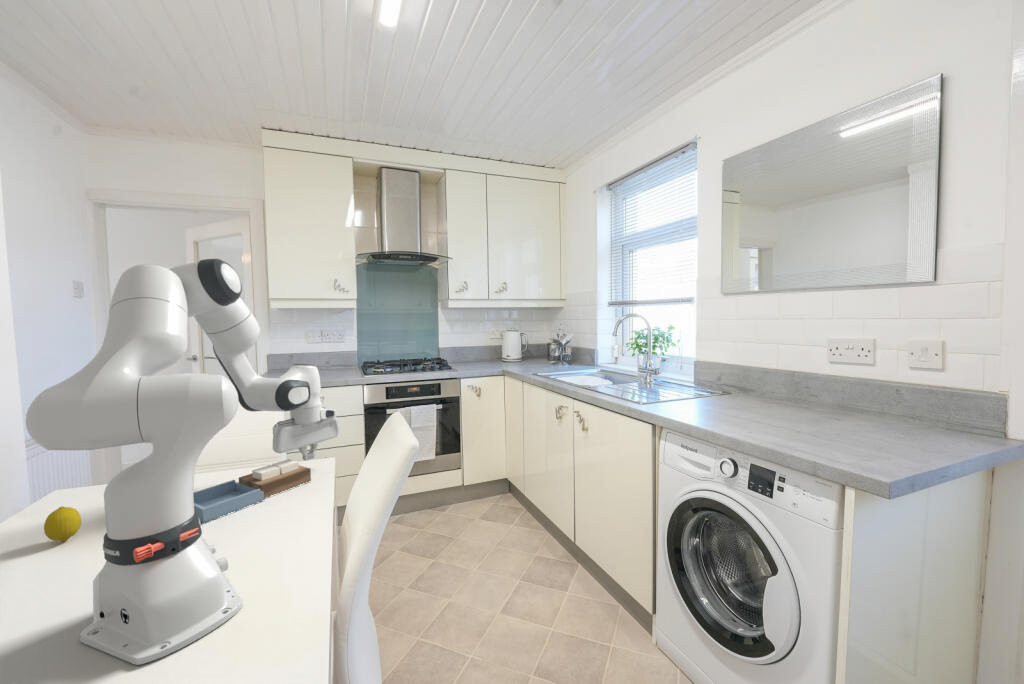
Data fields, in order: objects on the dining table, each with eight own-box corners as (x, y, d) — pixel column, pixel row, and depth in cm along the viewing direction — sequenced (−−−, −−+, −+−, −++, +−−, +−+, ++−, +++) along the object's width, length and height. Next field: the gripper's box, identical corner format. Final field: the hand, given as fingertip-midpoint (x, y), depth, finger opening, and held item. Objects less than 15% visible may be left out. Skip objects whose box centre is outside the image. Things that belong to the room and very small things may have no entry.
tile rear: (298, 468, 122) (298, 461, 122) (281, 473, 118) (281, 467, 117) (288, 465, 124) (288, 459, 124) (272, 471, 120) (271, 464, 120)
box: (264, 500, 109) (263, 488, 109) (203, 523, 97) (202, 509, 97) (237, 490, 116) (236, 478, 116) (178, 511, 104) (177, 497, 104)
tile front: (280, 474, 117) (279, 467, 117) (262, 480, 113) (261, 473, 113) (270, 471, 120) (270, 464, 120) (252, 477, 115) (252, 470, 115)
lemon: (43, 551, 87) (40, 515, 86) (48, 541, 91) (45, 506, 90) (80, 541, 90) (77, 506, 90) (84, 532, 94) (81, 498, 94)
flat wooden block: (311, 481, 122) (310, 468, 121) (262, 500, 110) (261, 485, 109) (287, 474, 128) (287, 462, 127) (239, 491, 116) (238, 477, 115)
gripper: (278, 424, 116) (281, 471, 117) (341, 409, 134) (343, 451, 134) (266, 421, 119) (269, 468, 120) (329, 408, 137) (331, 448, 138)
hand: (308, 458), depth 127 cm, fingers closed
